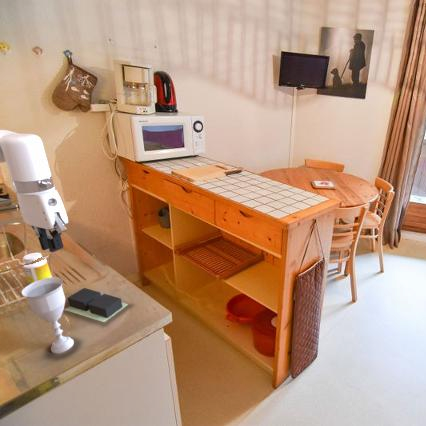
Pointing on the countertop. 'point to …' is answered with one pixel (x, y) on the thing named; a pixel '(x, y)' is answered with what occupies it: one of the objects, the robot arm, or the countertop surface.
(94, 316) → the mat
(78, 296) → the loose pad
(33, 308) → the chalice
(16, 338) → the countertop surface
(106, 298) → the pad
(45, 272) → the supplement bottle
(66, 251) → the countertop surface
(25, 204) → the robot arm
